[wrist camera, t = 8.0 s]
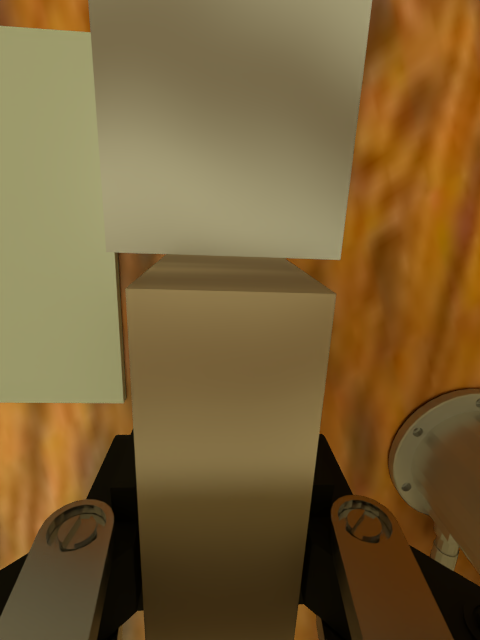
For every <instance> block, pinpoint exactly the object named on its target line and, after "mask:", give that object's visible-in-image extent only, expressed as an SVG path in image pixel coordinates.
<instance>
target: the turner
mask: <svg viewBox="0 0 480 640" xmlns="http://www.w3.org/2000/svg"><path fill="white" fill-rule="evenodd" d="M88 2H89V16H90V30H91V44H92V58H93V72H94V86H95V101H96V115H97V129H98V143H99V157H100V171H101V185H102V200H103V214H104V228H105V242H106V252H118V253H149V254H166V255H165V256H164V257H163V258H162V259H160V260H159V261H158V262H157V263H156V264H154V265H153V266H152V267H151V268H150V269H148V270H147V271H146V272H145V273H144V274H142V275H141V276H140V277H139V278H138V279H136V280H135V281H134V282H133V283H132V284H130V285H129V286H128V287H127V288H126V306H127V324H128V341H129V359H130V377H131V395H132V412H133V430H134V448H135V465H136V483H137V501H138V518H139V536H140V554H141V571H142V589H143V607H144V625H145V640H294V635H295V627H296V619H297V610H298V602H299V594H300V586H301V578H302V570H303V562H304V553H305V545H306V537H307V529H308V521H309V513H310V504H311V496H312V488H313V480H314V472H315V464H316V456H317V447H318V439H319V431H320V423H321V415H322V407H323V398H324V390H325V382H326V374H327V366H328V358H329V350H330V341H331V333H332V325H333V317H334V309H335V301H336V293H334V292H333V291H331V290H330V289H328V288H327V287H325V286H324V285H322V284H321V283H320V282H318V281H317V280H315V279H314V278H312V277H311V276H309V275H308V274H306V273H305V272H304V271H302V270H301V269H299V268H298V267H296V266H295V265H293V264H292V263H290V262H289V261H288V260H286V259H285V258H301V259H332V260H340V258H341V250H342V242H343V234H344V225H345V217H346V209H347V201H348V193H349V185H350V176H351V168H352V160H353V152H354V144H355V136H356V127H357V119H358V111H359V103H360V95H361V87H362V78H363V70H364V62H365V54H366V46H367V38H368V29H369V21H370V13H371V5H372V0H88Z"/></svg>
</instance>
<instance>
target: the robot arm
mask: <svg viewBox="0 0 480 640" xmlns="http://www.w3.org/2000/svg"><path fill="white" fill-rule="evenodd" d="M389 472H390V477H391V479H392V482H393V484H394V486H395V488H396V489H397V491H398V492H399V494H400V496H401V497H402V498H403V499H404V500H405V501H406V503H407V504H408V505H410V506H411V507H412V508H414V509H415V510H417V511H419V512H421V513H424V514H426V515H429V516H430V517H431V518H432V519H433V521H434V528H433V529H434V531H435V534H436V535H437V536H436V539H435V540H434V542H433V546H432V550H431V554H430V557H429V556H427V555H425V554H424V553H422V552H420V551H418V550H417V549H415V548H413V547H412V546H410V545H409V544H408V542H407V540H406V538H405V536H404V534H403V532H402V529H401V527H400V525H399V523H398V521H397V520H396V518H395V517H394V515H393V514H392V513H391V512H390V511H389V510H388V509H387V508H386V507H385V506H383V505H382V504H380V503H379V502H377V501H375V500H373V499H370V498H368V497H365V496H359V495H353V494H352V492H351V490H350V488H349V486H348V484H347V482H346V479H345V477H344V475H343V473H342V471H341V469H340V467H339V465H338V463H337V461H336V459H335V457H334V455H333V453H332V451H331V448H330V446H329V444H328V442H327V440H326V438H325V437H324V435H322V434H319V439H318V447H317V456H316V464H315V472H314V480H313V488H312V496H311V504H310V513H309V521H308V529H307V537H306V545H305V553H304V562H303V570H302V578H301V586H300V594H299V602H298V604H304V605H305V606H307V607H308V608H309V609H310V610H311V611H313V612H314V613H315V614H316V625H317V631H318V638H319V640H480V586H478V585H476V584H474V583H473V582H471V581H469V580H468V579H466V578H464V577H463V576H461V575H459V574H457V573H456V572H454V568H455V565H456V561H457V558H458V554H459V550H458V549H459V547H460V548H461V550H462V551H463V553H464V554H465V555H466V557H467V558H468V559H469V561H470V562H471V564H472V565H473V566H474V568H475V569H476V570H477V572H478V573H479V575H480V389H465V390H457V391H454V392H450V393H447V394H444V395H442V396H439V397H437V398H435V399H433V400H431V401H429V402H428V403H426V404H425V405H423V406H422V407H420V408H419V409H418V410H417V411H416V412H414V413H413V414H412V415H411V416H410V417H409V418H408V419H407V420H406V422H405V423H404V424H403V426H402V427H401V428H400V429H399V431H398V433H397V435H396V437H395V439H394V441H393V443H392V447H391V450H390V453H389ZM141 610H144V607H143V589H142V571H141V554H140V536H139V518H138V501H137V483H136V465H135V448H134V430H132V433H131V435H116V436H115V438H114V440H113V442H112V444H111V446H110V448H109V451H108V453H107V455H106V457H105V459H104V461H103V464H102V466H101V468H100V470H99V472H98V475H97V477H96V479H95V481H94V483H93V485H92V488H91V490H90V492H89V494H88V496H87V499H85V500H80V501H75V502H72V503H70V504H67V505H65V506H63V507H61V508H60V509H58V510H57V511H55V512H54V513H53V514H52V515H50V516H49V517H48V518H47V519H46V520H45V522H44V523H43V525H42V526H41V528H40V529H39V531H38V534H37V536H36V538H35V540H34V543H33V545H32V547H31V549H30V552H29V553H28V554H26V555H25V556H23V557H21V558H20V559H18V560H16V561H15V562H13V563H12V564H10V565H8V566H7V567H5V568H3V569H2V570H0V640H121V639H122V624H123V623H124V622H126V621H127V620H128V619H129V618H130V617H131V616H132V615H133V614H134V613H136V612H137V611H141Z"/></svg>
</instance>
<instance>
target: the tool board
mask: <svg viewBox="0 0 480 640" xmlns="http://www.w3.org/2000/svg"><path fill="white" fill-rule="evenodd" d="M125 400H126V385H125V367H124V350H123V333H122V316H121V298H120V281H119V264H118V252H106V242H105V228H104V214H103V200H102V185H101V171H100V157H99V143H98V129H97V115H96V101H95V86H94V72H93V58H92V44H91V33H90V32H76V31H63V30H49V29H35V28H22V27H8V26H0V402H14V403H124V402H125Z"/></svg>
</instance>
